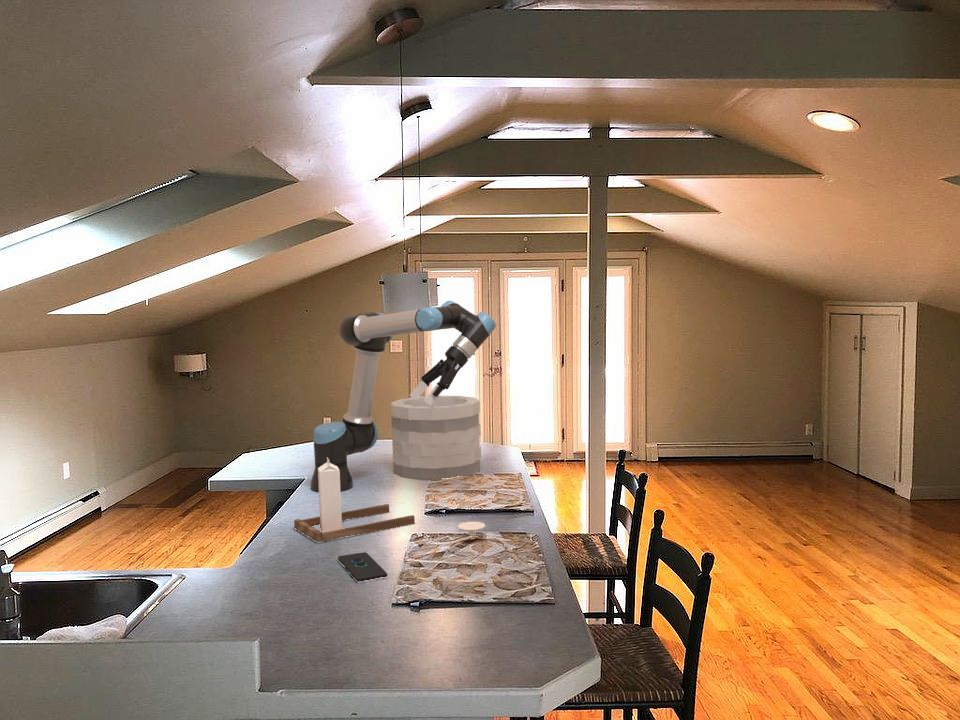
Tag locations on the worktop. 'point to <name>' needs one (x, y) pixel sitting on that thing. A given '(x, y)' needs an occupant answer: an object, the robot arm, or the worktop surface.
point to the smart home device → (362, 566)
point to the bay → (318, 536)
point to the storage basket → (436, 437)
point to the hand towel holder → (472, 527)
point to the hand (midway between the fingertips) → (419, 400)
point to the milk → (329, 497)
